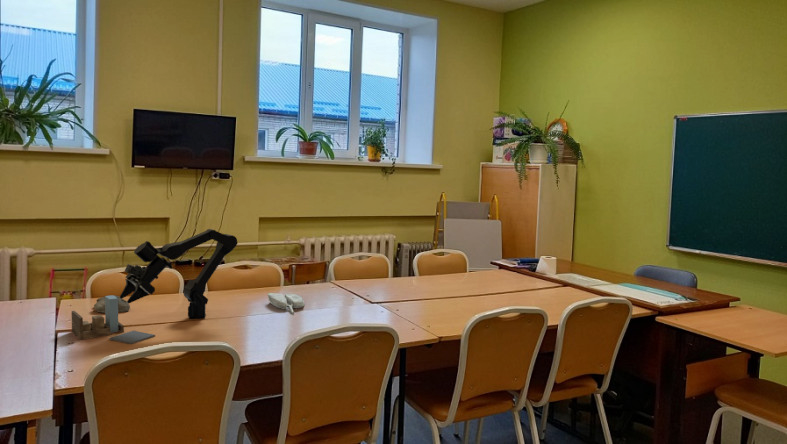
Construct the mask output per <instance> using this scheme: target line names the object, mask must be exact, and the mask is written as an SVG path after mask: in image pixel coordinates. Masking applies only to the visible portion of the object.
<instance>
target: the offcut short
mask: <svg viewBox="0 0 787 444" xmlns="http://www.w3.org/2000/svg"><path fill="white" fill-rule="evenodd" d="M90 323H91V322H89V321H88V320H83V332H84V331H91V325H90Z"/></svg>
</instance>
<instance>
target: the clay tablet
mask: <svg viewBox="0 0 787 444" xmlns="http://www.w3.org/2000/svg"><path fill="white" fill-rule="evenodd" d="M114 296H115V297H117V298H118V313H124V312H125V313H126V312H127V313H128V311H130V310H131V306H130V303H128V302H127V301H128V300H125V299H124V298H122V299H121V298H120V295H114ZM93 308H94V310H95V311H96V312H97V313H104V314H105V296H102V297H100V298H98V299H96V302H95V303H94V304H93Z"/></svg>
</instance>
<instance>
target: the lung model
mask: <svg viewBox="0 0 787 444" xmlns="http://www.w3.org/2000/svg"><path fill="white" fill-rule="evenodd" d="M267 298H268V301H269V302H270V304H272V305H273V306H274V307H277V308H278V309H283V310H286V309H287V308H288V309H289V312H290V314H295V311H294V309H293V308H296V309H297V308H299V309H300V308H303V307H304V306H305V302H304V299H303V297H302V296H300V295H299V294H295V293H289V294H287V293H286V294H284V295H283V294H281V293H276V292H270V293H268V294H267Z"/></svg>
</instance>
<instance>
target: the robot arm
mask: <svg viewBox="0 0 787 444" xmlns="http://www.w3.org/2000/svg"><path fill="white" fill-rule="evenodd" d="M211 240H213V241H215V242H216V245H215V250H214V251H213V253H212V255H211V256H210V258H208V261H207V262H206V263H205V265H204V266H203V267H202V269H201V270H200V272H199V274H198V275H197V277H196V278H195V279H193V280H192V279H189V280H188V281H187V283H186V285H185V286H183V288H184V289H183V291H182V292H183V297H184V298H185V299H187V301H188V303H189V304H188V306H187V317H188V319H189V320H198V319H200V320H201V319H203V320H205V319H206V317H207V313H206V310H207V309H206V306H207V305H208V302H209V298H207V297H206V296H205V295H204V294H205V291H206V287H207V283H208V282H209V280H210V279H211V277H212V276H213V274H214V273H215V271H216V269H218V267H219V265H220V264H221V262H222V261H223V259H224V258H225V257H226V256H227V255H228V254H230V253H231V252H232V251H233V250H234V249H235V248H236V247H237V246H238V238H237V237H236V236H235V235H231V234H227V233H222V232H219V231H217V230H215V229H212V228H208V229H206V230H204V231H202V232H200V233H198V234H195V235H192V236H191V237H189V238H186V239H184V240H181V241H176V242H171V243H166V244H164V245H162V247H158V248H157V247H155V246H153V244H152V243H151V242H150V241H148V240H146V241H144V242H143V243H141V244H140V245H138V246H137V247H136V248H135V249H134V250H133V251H134V252H133V253H134V254H135V255H136V256H137V257H138V258H139V259H140V260H141V261H142V262H143V263H148V264H147V265H146V266H145V265H144V266H141V265H138V264H135V265H132V264H129V263H127V265H126V267H125V269H124V272H126V273H127V274H126V276H125V286H124V288H123V290H122V292H121V294H120V295H119V297H120V298H121V299H124V298H125V297H128V296H129V298H127V300H126V301H127V302H128V303H129V304H132V303H133V302H136V301H138V300H140V299H143V298H144V297H147V296H150V295H153V294H154V293H155V291H156V287H155V286H154V285H152V284H151V283H153V281H154V280H158V278H159V275H160V274H161V273H162V272H163V271H164V270H165V269H166V268H168V269H171V270H172V269H173V262H172V261H174V260H177V259H178V258H180V257H181V256H183V255H184V254H185V253H186V252H187V251H189V250H191V249H194V248H196V247H198V246H200V245H203V244H205V243H206V242H209V241H211ZM160 256H162V257H160ZM167 259H169V261H168V260H167ZM170 260H172V261H170Z"/></svg>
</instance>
